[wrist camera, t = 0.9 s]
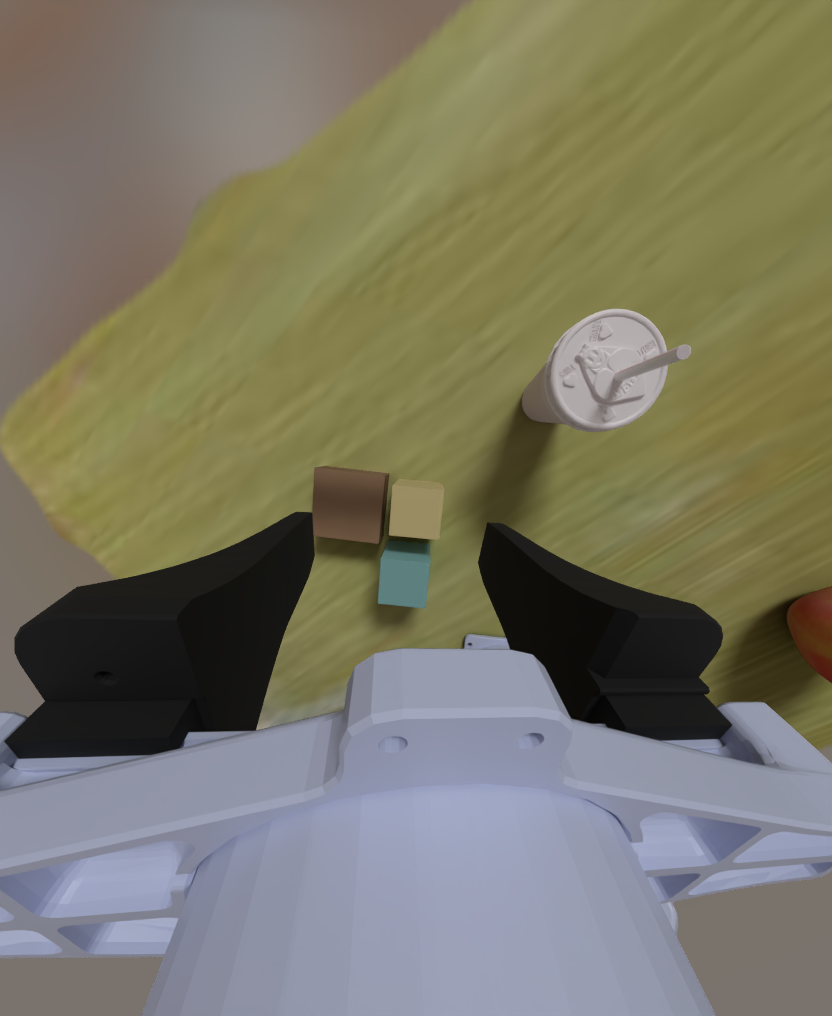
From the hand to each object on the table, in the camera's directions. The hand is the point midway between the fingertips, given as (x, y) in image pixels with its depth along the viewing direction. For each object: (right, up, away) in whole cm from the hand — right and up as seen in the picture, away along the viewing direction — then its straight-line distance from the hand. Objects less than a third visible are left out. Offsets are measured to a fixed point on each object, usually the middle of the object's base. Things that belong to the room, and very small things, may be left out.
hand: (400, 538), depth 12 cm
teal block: (0, -4, +17) cm, 17 cm away
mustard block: (+1, +2, +16) cm, 16 cm away
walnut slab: (-5, +2, +16) cm, 17 cm away
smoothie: (+12, +11, +14) cm, 21 cm away
